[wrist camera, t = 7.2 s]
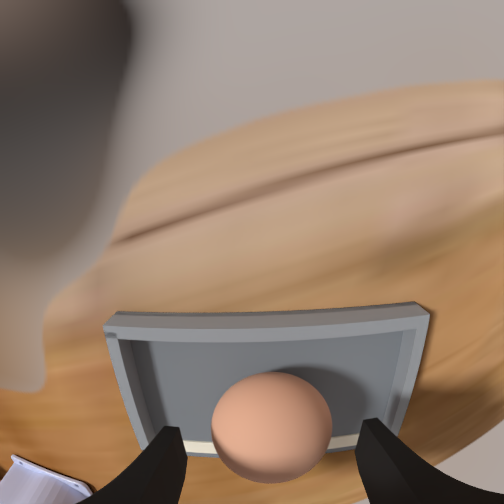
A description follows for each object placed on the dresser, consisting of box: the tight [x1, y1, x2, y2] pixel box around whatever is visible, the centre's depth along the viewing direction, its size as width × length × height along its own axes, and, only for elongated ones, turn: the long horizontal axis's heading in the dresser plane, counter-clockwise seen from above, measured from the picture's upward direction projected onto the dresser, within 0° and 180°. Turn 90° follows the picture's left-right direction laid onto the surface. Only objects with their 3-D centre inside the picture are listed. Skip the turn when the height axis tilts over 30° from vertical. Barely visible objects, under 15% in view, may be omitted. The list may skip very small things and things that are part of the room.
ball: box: [211, 372, 332, 483], centre depth 11 cm, size 5×5×5 cm
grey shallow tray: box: [103, 302, 430, 458], centre depth 13 cm, size 14×9×2 cm
